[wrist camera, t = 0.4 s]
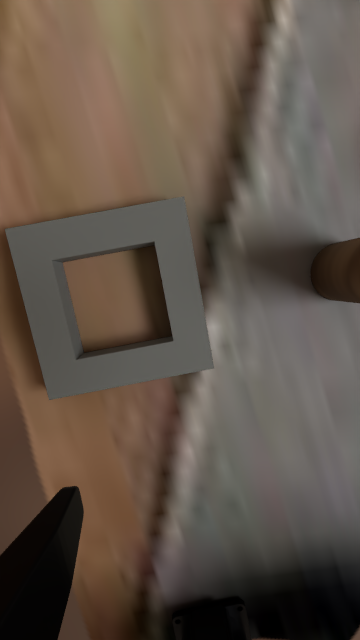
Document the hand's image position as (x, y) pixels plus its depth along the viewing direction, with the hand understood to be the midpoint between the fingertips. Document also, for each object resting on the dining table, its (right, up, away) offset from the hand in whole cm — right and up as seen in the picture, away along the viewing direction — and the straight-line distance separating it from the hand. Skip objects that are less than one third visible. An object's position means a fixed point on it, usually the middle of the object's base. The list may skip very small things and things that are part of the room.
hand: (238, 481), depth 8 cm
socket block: (-6, +6, +14) cm, 16 cm away
